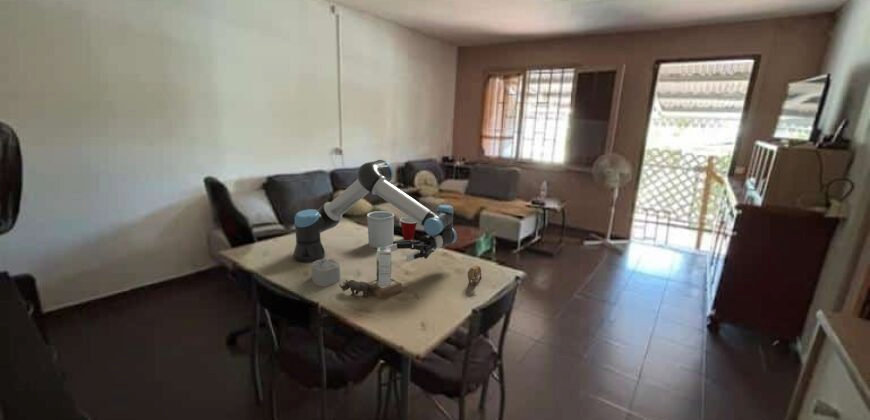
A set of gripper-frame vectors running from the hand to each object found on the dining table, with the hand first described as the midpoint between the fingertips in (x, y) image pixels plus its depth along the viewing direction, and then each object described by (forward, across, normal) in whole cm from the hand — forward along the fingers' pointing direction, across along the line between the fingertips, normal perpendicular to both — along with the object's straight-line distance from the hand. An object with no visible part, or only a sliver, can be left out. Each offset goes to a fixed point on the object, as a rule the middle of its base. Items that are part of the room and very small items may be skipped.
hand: (395, 254), depth 158 cm
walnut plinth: (+6, 0, -15) cm, 16 cm away
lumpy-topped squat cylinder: (+16, +28, -15) cm, 36 cm away
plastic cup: (-49, +43, -15) cm, 67 cm away
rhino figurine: (+16, +7, -15) cm, 23 cm away
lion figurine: (-27, -22, -15) cm, 38 cm away
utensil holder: (-31, +46, -15) cm, 58 cm away
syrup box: (+6, 0, -11) cm, 13 cm away
